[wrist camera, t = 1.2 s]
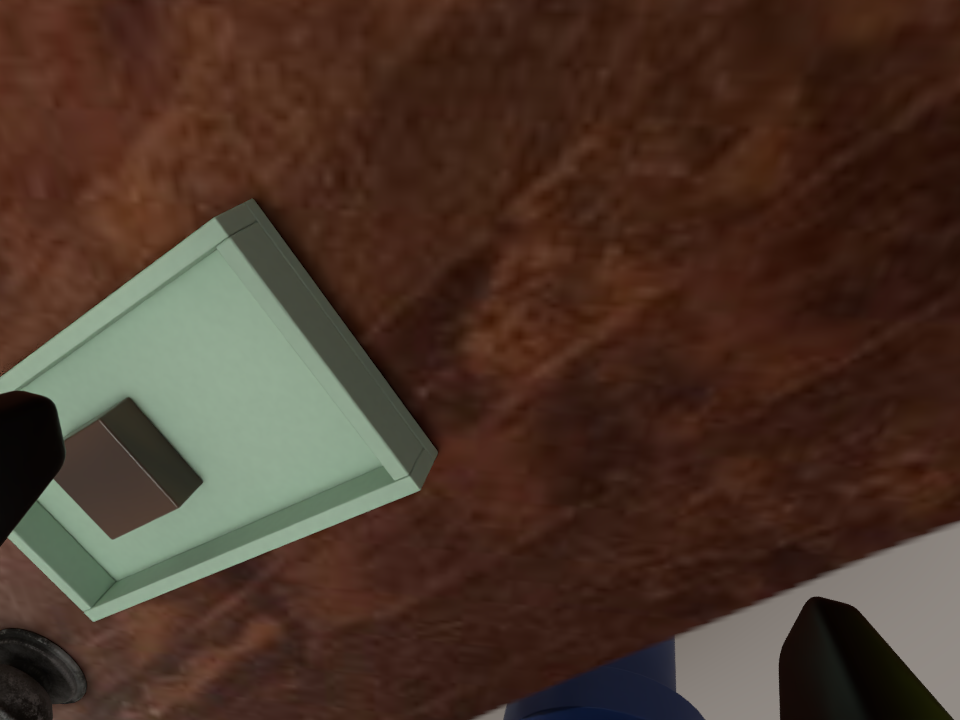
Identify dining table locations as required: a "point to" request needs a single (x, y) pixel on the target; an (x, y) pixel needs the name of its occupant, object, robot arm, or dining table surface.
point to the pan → (219, 415)
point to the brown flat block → (124, 470)
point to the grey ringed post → (35, 676)
